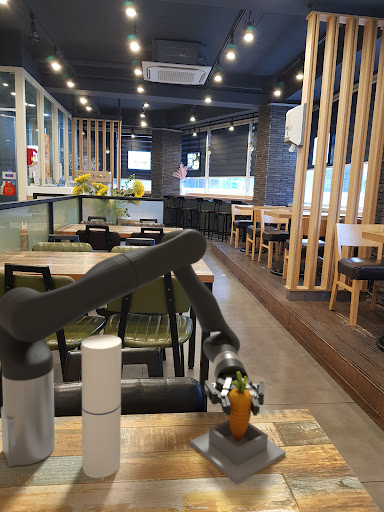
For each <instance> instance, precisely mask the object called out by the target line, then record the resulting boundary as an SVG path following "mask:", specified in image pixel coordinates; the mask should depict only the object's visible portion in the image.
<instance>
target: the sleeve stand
mask: <svg viewBox="0 0 384 512" xmlns="http://www.w3.org/2000/svg"><path fill="white" fill-rule="evenodd" d="M190 446H192V447H193V448H195V450H197V451H198V452H199V453H201V454H202V456H204V457H205V459H207V460H208V461H209V462H210V463H211V464H213V465H214V466H215V467H216V468H217V469H219V470H220V471H221V472H222V473H223V474H224V475H226V477H228V478H229V479H230V480H231V481H232V482H233V483H234V484H235V485H239V484H240V483H242V482H244V481H246V480H247V479H248V478H250V477H252V476H253V475H255V474H257V473H259V472H260V471H262V470H264V469H265V468H267V467H268V466H270V465H272V464H274V463H275V462H277V461H278V460H280V459H281V458H283V457H285V456H286V454H287V453H286V450H284V449H283V448H282V447H280V446H279V445H277V444H276V443H273V442H272V441H271V440H269V435H268V434H267V433H265V432H264V431H262V430H260V428H258V427H256V426H255V425H253V424H252V423H251V422H249V424H248V427H247V430H246V432H245V434H244V436H243V437H242V439H241V440H240V441H239V442H237V441H235V438H234V436H233V434H232V431H231V428H230V424H229V419H228V420H225V421H223V422H221V423H219V424H216V425H215V426H212V427H210V428H209V430H208V432H207V433H205V434H202V435H200V436H198V437H196V438H194V439H190Z"/></svg>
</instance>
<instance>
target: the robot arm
mask: <svg viewBox="0 0 384 512" xmlns="http://www.w3.org/2000/svg"><path fill="white" fill-rule="evenodd" d="M207 245H208V242H207V239H206V237H205V236H204V234H203V233H201V232H200V231H198V230H197V229H192V228H184V229H179V230H178V229H177V230H173V231H172V230H171V231H169V232H167V233H165V234H164V235H163V236H162V238H161V241H160V243H159V244H154V245H150V246H145V247H140V248H136V249H131V250H128V251H124V252H121V253H118V254H114V255H112V256H111V257H108V258H104V259H103V260H101V261H99V262H97V263H96V264H95V265H93V266H91V268H89V270H87V271H86V272H85V273H84V274H83V275H82V276H81V277H80V278H78V279H77V280H75V281H73V282H72V283H69V284H67V285H64V286H61V287H58V288H56V289H53V290H49V291H44V292H40V291H38V290H36V289H32V288H30V287H24V286H23V287H14V288H12V289H10V290H9V291H7V292H5V294H3V295H2V296H1V298H0V366H1V376H2V377H1V381H2V382H1V383H2V406H1V407H0V415H1V416H0V419H1V422H0V423H1V440H2V441H1V443H2V445H1V447H2V452H3V455H4V458H5V461H6V463H7V467H8V468H11V467H14V466H27V465H33V464H35V463H36V464H37V463H39V462H41V461H43V460H45V459H46V458H47V457H48V456H49V455H51V454H52V453H53V451H54V449H55V446H56V445H55V438H56V435H55V392H54V389H55V388H54V387H55V385H54V381H55V380H54V377H55V376H54V356H53V355H54V354H53V352H52V350H51V348H50V347H49V345H48V341H47V338H48V337H51V336H52V335H53V334H55V333H57V332H59V331H60V330H62V329H63V328H65V327H66V326H68V325H70V324H71V323H73V322H75V321H77V320H78V319H80V318H82V317H83V316H85V315H87V314H88V313H90V312H93V311H94V310H97V309H100V308H101V307H102V308H103V307H104V306H105V305H107V304H110V303H112V302H113V301H116V300H118V299H121V298H123V297H125V296H127V295H130V294H132V293H134V292H135V291H136V290H139V289H140V288H142V287H145V286H147V285H149V284H150V283H152V282H154V281H156V280H158V279H159V278H162V277H163V276H165V275H166V274H169V273H171V272H172V274H173V275H174V277H175V278H176V279H175V280H176V281H178V284H179V285H180V287H181V288H182V290H183V293H184V294H185V295H186V297H187V299H188V301H189V303H190V306H191V308H192V309H193V312H194V315H195V317H196V319H197V322H198V324H199V326H200V329H201V330H202V331H203V332H204V333H207V334H208V333H209V334H210V333H216V334H214V335H211V336H208V337H207V338H205V339H204V341H203V343H202V350H203V352H204V355H205V356H206V359H208V361H210V362H211V363H212V364H213V365H212V366H213V375H214V378H215V382H211V380H205V381H204V394H206V396H207V398H208V399H209V401H210V403H211V404H212V405H217V404H220V406H221V409H222V412H223V414H225V415H226V416H228V415H230V410H231V406H230V402H229V398H228V394H229V392H231V391H232V390H233V389H234V388H236V386H235V385H233V384H232V383H231V382H232V381H234V382H235V380H237V381H238V383H239V380H238V376H237V373H236V372H240V373H241V376H242V380H243V382H244V376H246V377H247V384H246V387H245V389H246V390H248V391H249V392H250V394H251V395H252V409H251V414H252V415H253V416H254V417H256V416H258V414H259V413H260V409H261V407H260V406H263V405H264V404H265V401H264V400H265V386H266V385H265V381H263V380H262V381H261V380H260V381H258V383H254V382H253V381H252V379H251V380H250V378H249V375H248V373H247V370H246V368H245V366H244V362H243V361H242V359H241V357H240V356H239V354H238V352H239V351H240V348H241V342H240V339H239V337H238V336H237V334H236V333H235V332H234V331H233V329H232V328H231V327H230V326H229V324H228V323H227V322H226V320H225V318H224V316H223V313H222V311H221V308H220V306H219V303H218V300H217V298H216V297H215V295H214V294H213V292H212V291H211V289H209V288H208V286H207V285H206V284H205V283H204V282H203V281H202V280H201V279H200V277H199V276H198V275H197V272H196V271H195V269H194V268H193V266H192V265H194V264H196V263H198V262H200V261H201V260H202V258H204V256H205V254H206V253H207V248H208V246H207ZM253 390H254V391H253Z"/></svg>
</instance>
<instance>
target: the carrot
mask: <svg viewBox="0 0 384 512" xmlns="http://www.w3.org/2000/svg"><path fill="white" fill-rule="evenodd" d="M236 373H237V376H238V380H239V383H238V381H237V380H235V382H234V381H232V382H231V383H232V384H233V385H235V386H236V388H234V389H233V390H232V391H231V392H229V394H228V398H229V402H230V406H231V410H230V415H227V416H228V420H229V424H230V428H231V431H232V434H233V436H234V438H235V441H237V442H239V441H240V440H241V439H242V437H243V436H244V434H245V432H246V430H247V427H248V424H249V423H250V420H251V415H252V411H251V409H252V395H251V394H250V392H249V391H248V390H246V389H245V387H246V384H247V377H246V376H244V382H243V380H242V376H241V373H240V372H236Z"/></svg>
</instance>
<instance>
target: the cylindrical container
mask: <svg viewBox="0 0 384 512" xmlns="http://www.w3.org/2000/svg"><path fill="white" fill-rule="evenodd" d="M121 397H122V339H121V338H120V337H118V336H117V335H112V334H95V335H90V336H88V337H86V338H84V339H83V340H82V341H81V417H82V418H81V433H82V434H81V437H82V438H81V439H82V440H81V441H82V442H81V443H82V446H81V454H82V455H81V457H82V461H81V462H82V463H81V464H82V472H83V473H84V474H85V475H86V476H87V477H90V478H94V479H103V478H107V477H109V476H111V475H114V474H115V473H116V472H117V471H118V470H119V469H120V466H121V431H122V430H121V427H122V426H121V423H122V422H121V421H122V418H121V417H122V416H121V415H122V414H121V413H122V398H121Z"/></svg>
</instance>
